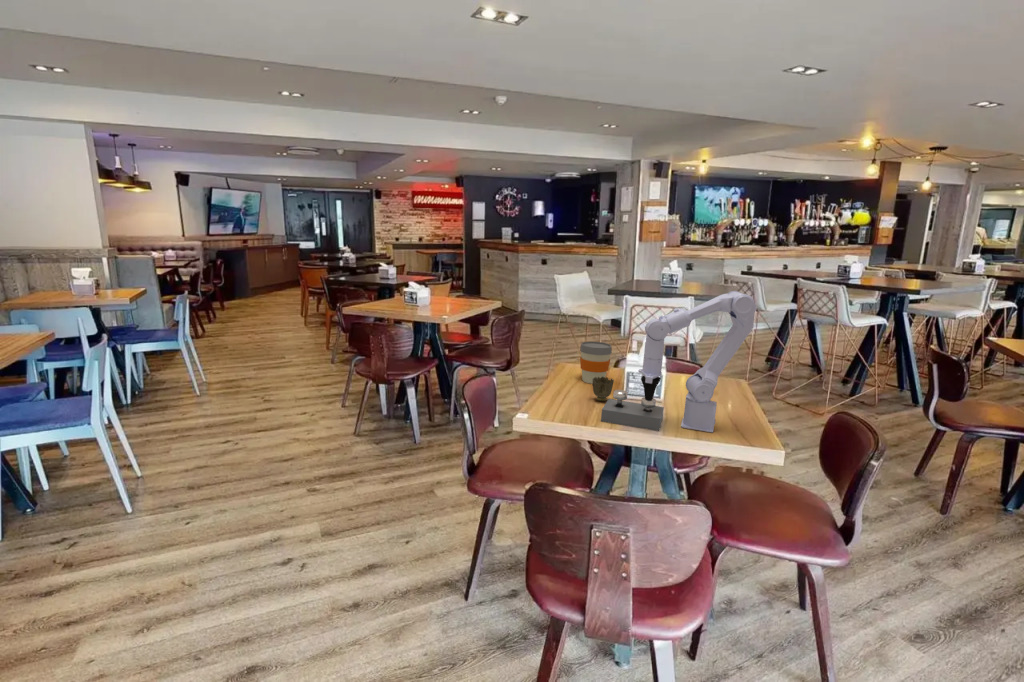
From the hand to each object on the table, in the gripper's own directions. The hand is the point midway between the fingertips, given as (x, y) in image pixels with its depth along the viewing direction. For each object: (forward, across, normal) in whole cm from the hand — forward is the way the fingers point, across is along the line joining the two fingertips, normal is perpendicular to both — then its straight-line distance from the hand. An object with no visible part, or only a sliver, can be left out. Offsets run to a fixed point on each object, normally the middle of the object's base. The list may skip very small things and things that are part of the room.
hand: (648, 399), depth 164 cm
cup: (+8, -15, -18) cm, 24 cm away
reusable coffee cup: (+8, -39, -26) cm, 47 cm away
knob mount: (+8, 0, -4) cm, 9 cm away
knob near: (+5, 0, 0) cm, 5 cm away
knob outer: (+4, 0, -9) cm, 10 cm away
